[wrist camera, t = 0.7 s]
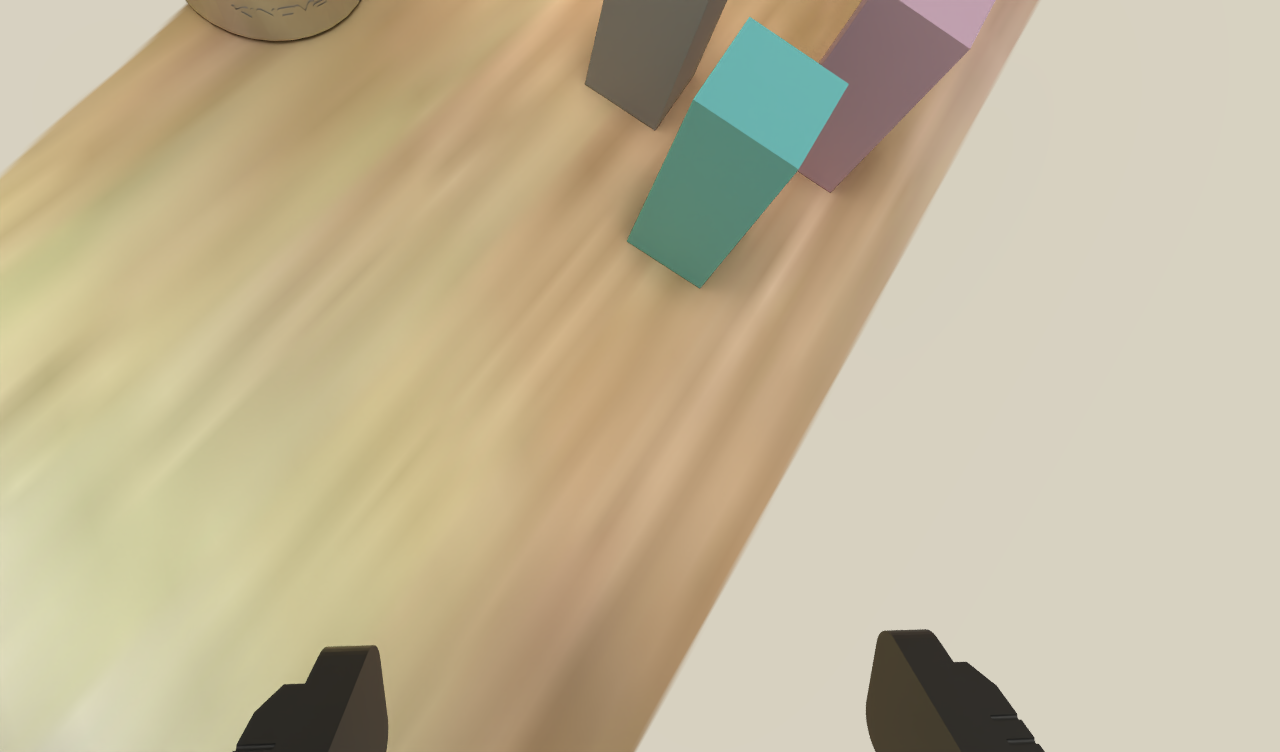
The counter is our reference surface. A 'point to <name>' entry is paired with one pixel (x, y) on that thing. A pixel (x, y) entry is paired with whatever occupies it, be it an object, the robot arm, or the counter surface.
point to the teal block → (734, 151)
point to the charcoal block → (649, 52)
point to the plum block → (887, 73)
